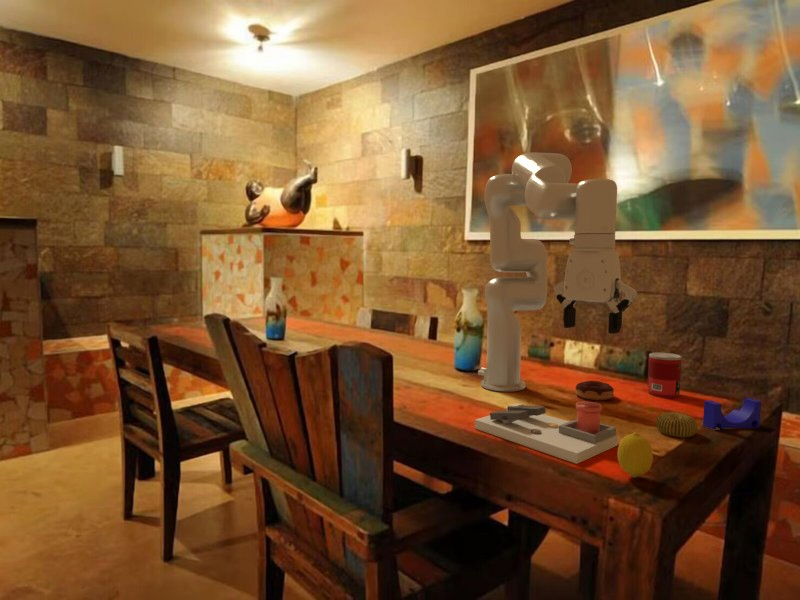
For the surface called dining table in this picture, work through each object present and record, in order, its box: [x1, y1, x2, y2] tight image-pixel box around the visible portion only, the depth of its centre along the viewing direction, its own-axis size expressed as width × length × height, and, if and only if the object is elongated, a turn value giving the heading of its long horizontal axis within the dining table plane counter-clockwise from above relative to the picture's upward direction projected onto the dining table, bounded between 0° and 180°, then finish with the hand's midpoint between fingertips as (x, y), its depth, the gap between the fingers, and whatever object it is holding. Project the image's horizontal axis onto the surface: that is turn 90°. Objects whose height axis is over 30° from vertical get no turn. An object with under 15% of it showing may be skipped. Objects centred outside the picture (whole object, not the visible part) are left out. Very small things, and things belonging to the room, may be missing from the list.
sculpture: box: [655, 411, 699, 438], centre depth 113 cm, size 8×4×8 cm
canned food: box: [646, 352, 683, 399], centre depth 144 cm, size 8×8×11 cm
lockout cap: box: [575, 401, 603, 434], centre depth 106 cm, size 5×5×6 cm
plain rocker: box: [489, 410, 529, 424], centre depth 112 cm, size 8×3×2 cm, turn 39°
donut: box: [574, 380, 615, 401], centre depth 141 cm, size 10×10×4 cm
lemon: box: [616, 431, 654, 479], centre depth 90 cm, size 6×6×8 cm
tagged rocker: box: [506, 403, 547, 417], centre depth 116 cm, size 8×3×3 cm, turn 39°
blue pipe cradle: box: [702, 397, 762, 429], centre depth 118 cm, size 12×4×6 cm, turn 102°
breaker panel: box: [474, 409, 619, 465], centre depth 110 cm, size 25×15×4 cm, turn 40°
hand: (591, 330), depth 105 cm, fingers open, 9 cm apart
